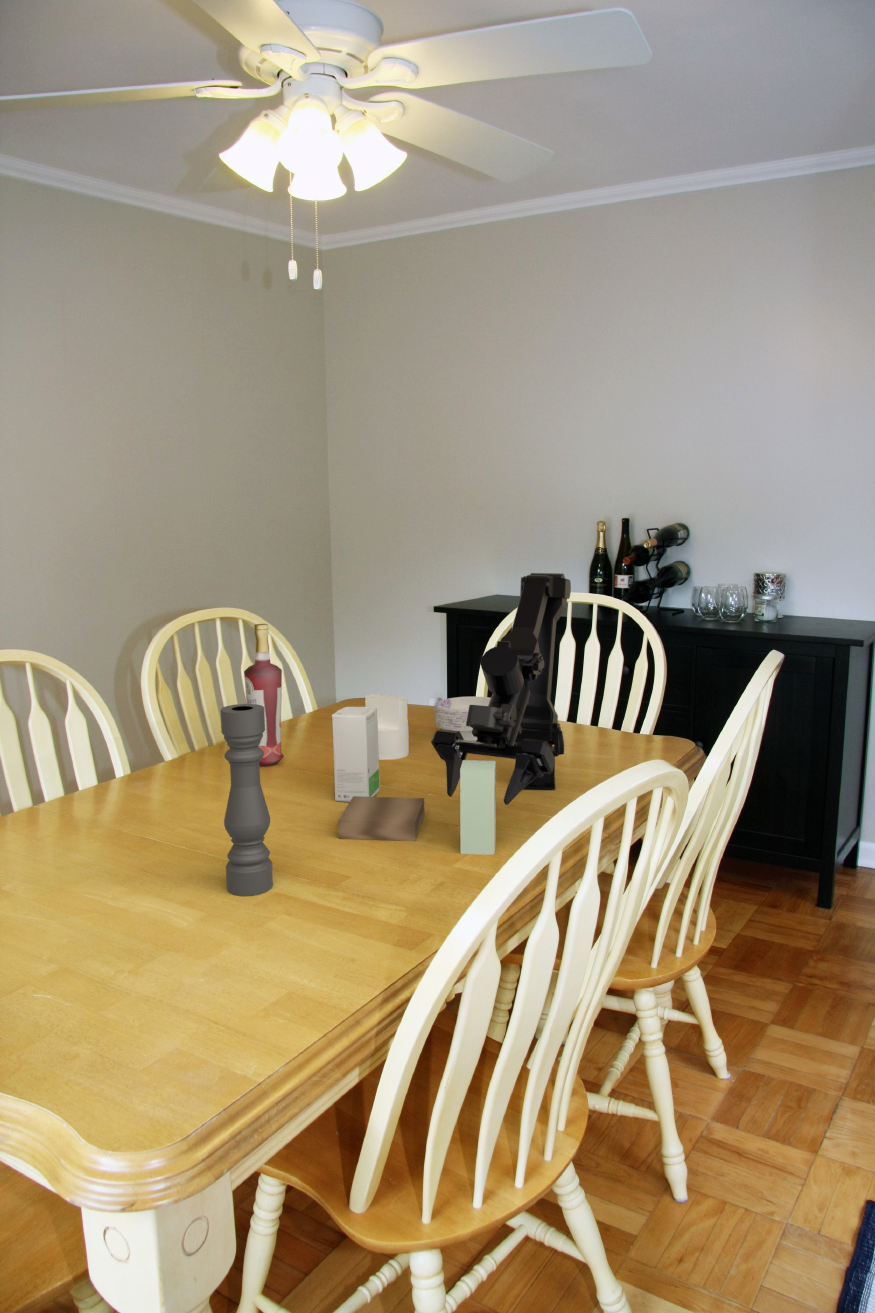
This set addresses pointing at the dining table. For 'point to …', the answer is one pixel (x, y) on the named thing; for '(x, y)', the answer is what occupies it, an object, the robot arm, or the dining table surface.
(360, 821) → the walnut block
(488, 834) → the sage pillar block
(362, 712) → the skincare box
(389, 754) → the base with upright slab
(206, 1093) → the dining table surface
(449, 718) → the paper bowls
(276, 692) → the liquor
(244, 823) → the candle holder
